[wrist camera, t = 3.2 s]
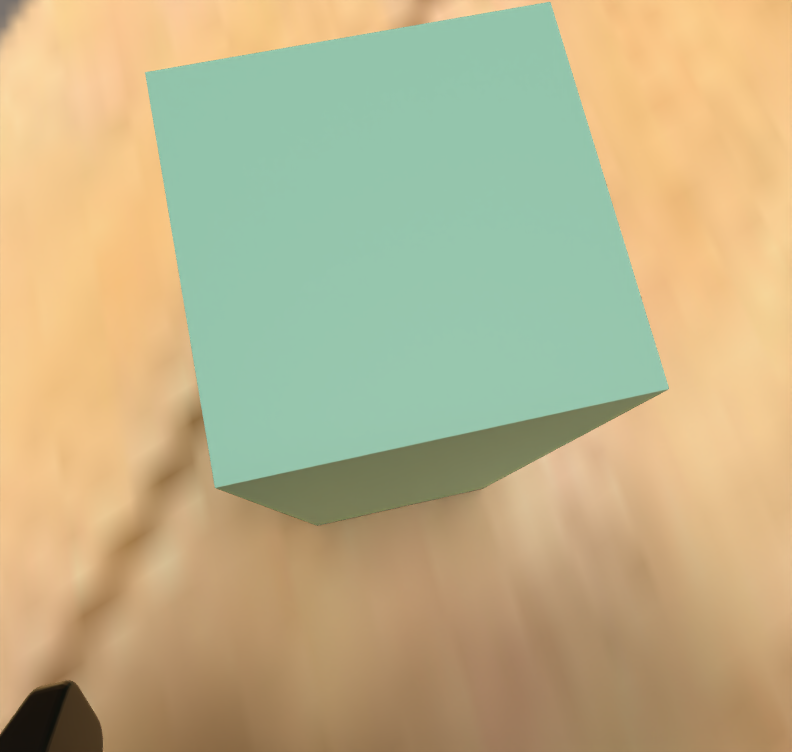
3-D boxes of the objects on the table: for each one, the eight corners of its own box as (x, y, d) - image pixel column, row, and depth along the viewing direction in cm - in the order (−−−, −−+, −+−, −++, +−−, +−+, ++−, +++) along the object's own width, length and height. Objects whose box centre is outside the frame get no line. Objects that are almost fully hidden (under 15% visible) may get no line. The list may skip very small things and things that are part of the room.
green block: (482, 488, 20) (668, 389, 7) (317, 525, 20) (215, 487, 7) (443, 330, 21) (549, 1, 8) (285, 363, 21) (144, 72, 8)
